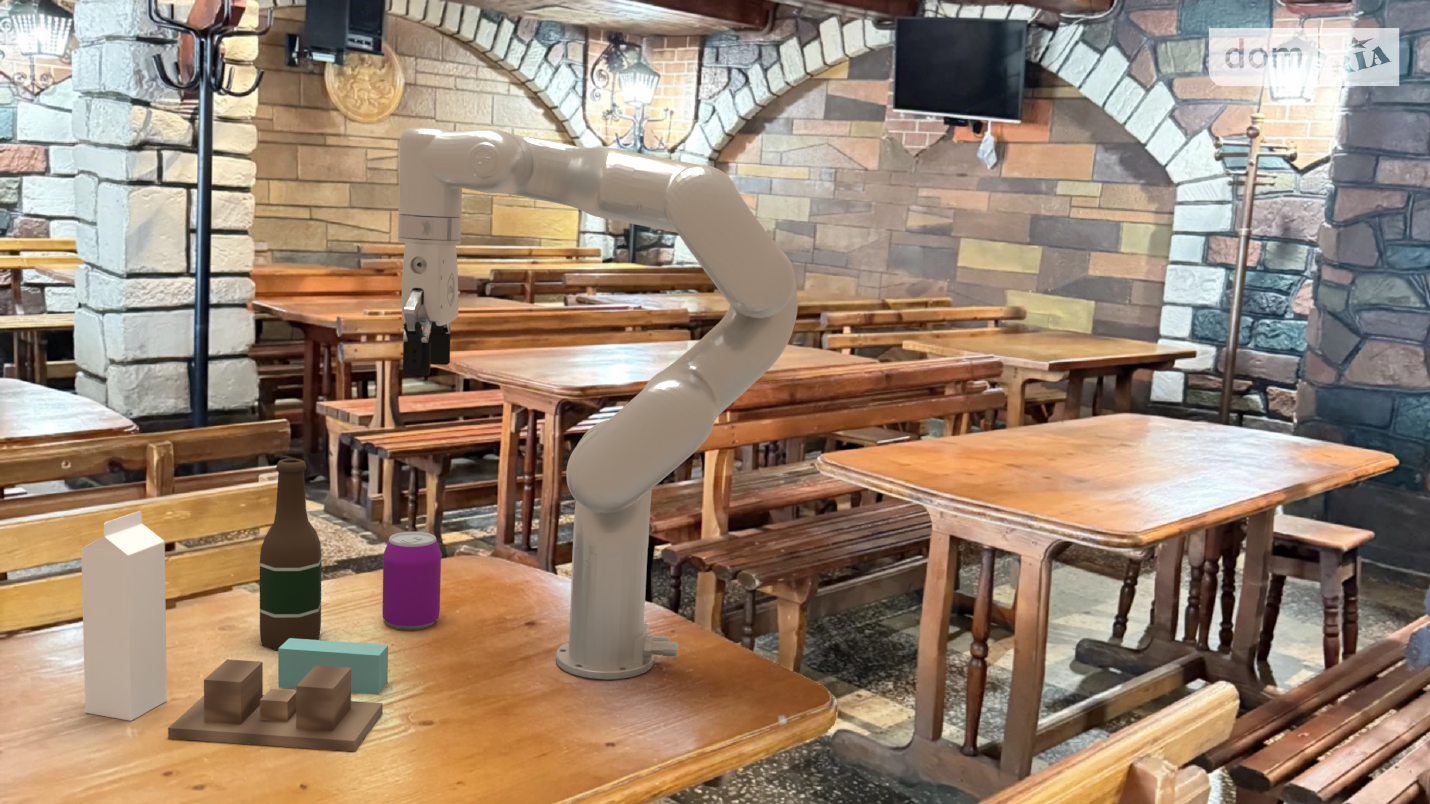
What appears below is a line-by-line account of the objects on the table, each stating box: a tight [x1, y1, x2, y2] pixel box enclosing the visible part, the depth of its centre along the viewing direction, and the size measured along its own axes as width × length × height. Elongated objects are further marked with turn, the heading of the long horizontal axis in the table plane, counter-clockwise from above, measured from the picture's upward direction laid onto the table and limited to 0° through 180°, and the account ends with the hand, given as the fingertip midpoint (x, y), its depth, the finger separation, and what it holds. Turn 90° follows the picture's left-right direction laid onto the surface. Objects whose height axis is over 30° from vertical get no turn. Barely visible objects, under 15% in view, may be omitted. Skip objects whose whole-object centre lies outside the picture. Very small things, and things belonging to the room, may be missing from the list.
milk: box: [80, 510, 168, 722], centre depth 139 cm, size 6×6×22 cm
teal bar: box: [277, 638, 389, 695], centre depth 150 cm, size 12×4×5 cm, turn 88°
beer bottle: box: [259, 458, 322, 652], centre depth 161 cm, size 8×8×24 cm
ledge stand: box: [167, 659, 384, 753], centre depth 138 cm, size 20×10×6 cm, turn 88°
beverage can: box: [381, 531, 442, 631], centre depth 172 cm, size 8×8×12 cm
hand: (427, 369), depth 156 cm, fingers open, 9 cm apart
